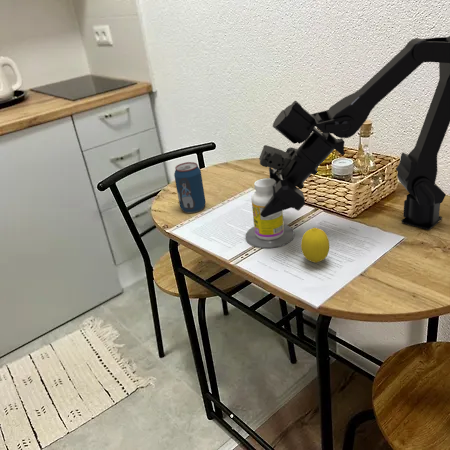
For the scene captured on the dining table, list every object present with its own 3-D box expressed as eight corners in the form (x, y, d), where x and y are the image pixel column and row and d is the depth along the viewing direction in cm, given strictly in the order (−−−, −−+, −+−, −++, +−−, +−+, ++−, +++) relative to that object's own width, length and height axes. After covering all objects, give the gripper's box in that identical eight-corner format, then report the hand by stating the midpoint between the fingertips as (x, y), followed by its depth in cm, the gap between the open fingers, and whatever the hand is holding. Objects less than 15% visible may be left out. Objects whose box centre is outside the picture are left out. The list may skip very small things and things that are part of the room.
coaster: (303, 232, 107) (303, 230, 107) (272, 253, 101) (272, 251, 100) (267, 220, 114) (267, 218, 114) (235, 239, 108) (235, 237, 108)
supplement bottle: (256, 227, 111) (251, 177, 105) (284, 226, 110) (281, 175, 104) (253, 242, 105) (248, 189, 99) (283, 241, 104) (280, 187, 98)
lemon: (323, 272, 92) (322, 237, 89) (297, 266, 95) (295, 232, 92) (333, 258, 96) (333, 223, 93) (308, 253, 99) (307, 219, 96)
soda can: (202, 200, 130) (195, 159, 124) (209, 210, 124) (203, 167, 118) (177, 206, 128) (170, 165, 122) (184, 216, 122) (176, 173, 117)
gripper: (276, 120, 105) (232, 172, 110) (284, 147, 88) (232, 206, 94) (313, 150, 108) (268, 199, 114) (327, 182, 91) (274, 237, 97)
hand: (261, 208), depth 104 cm, fingers closed on supplement bottle, 7 cm apart
